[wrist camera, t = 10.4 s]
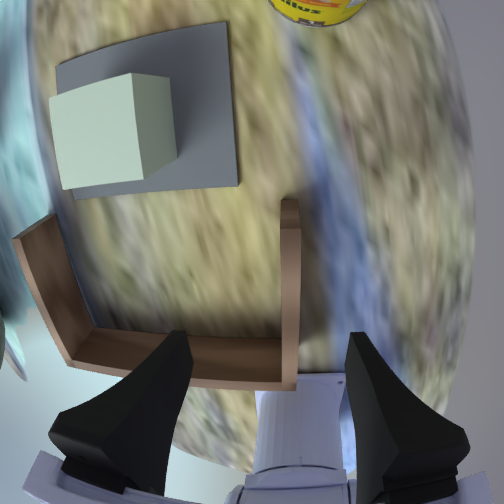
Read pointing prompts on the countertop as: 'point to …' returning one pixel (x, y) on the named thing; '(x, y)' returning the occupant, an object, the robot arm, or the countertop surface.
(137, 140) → the sage block
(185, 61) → the slate mat
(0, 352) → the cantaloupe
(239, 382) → the walnut open-sided frame
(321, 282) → the countertop surface
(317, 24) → the supplement bottle
